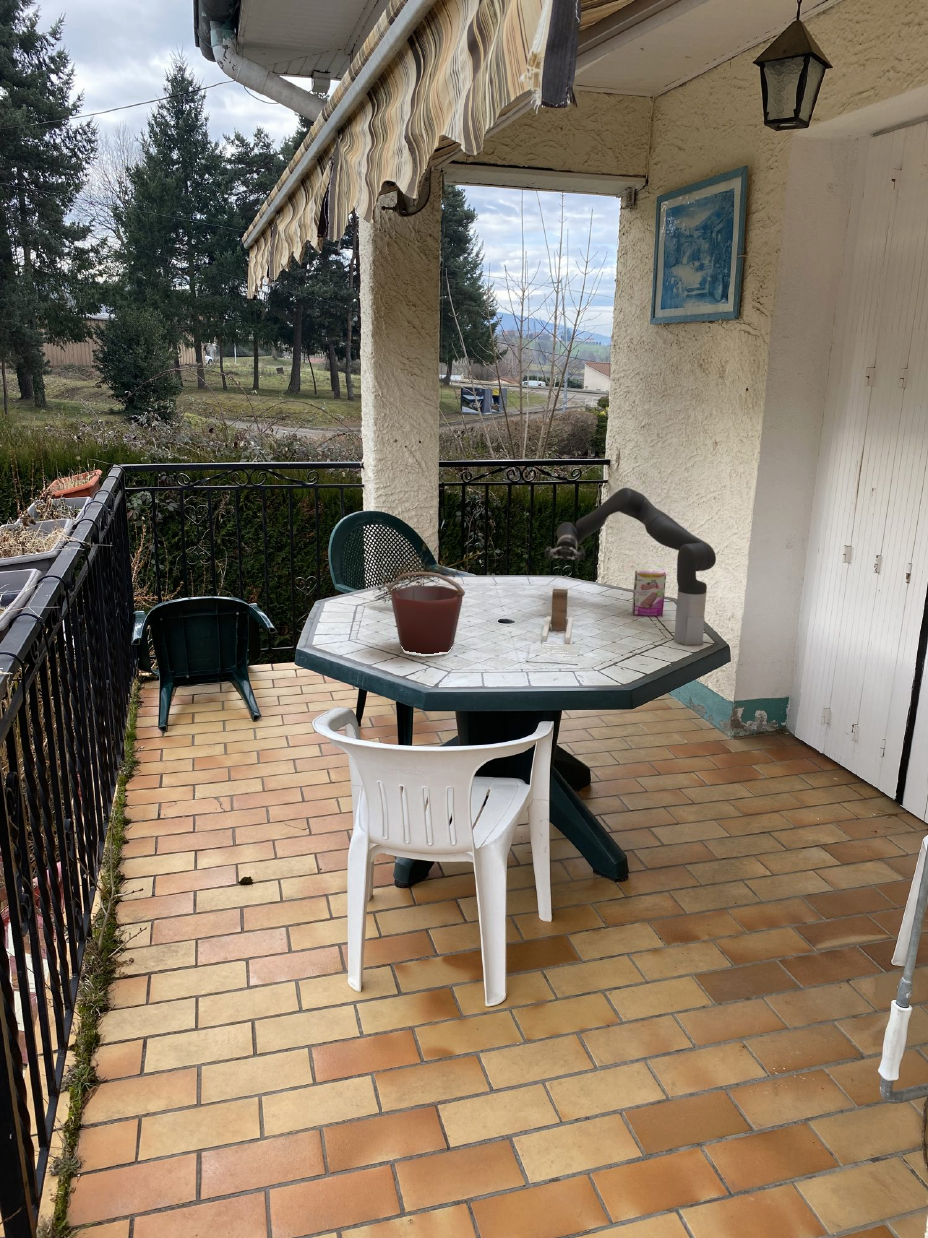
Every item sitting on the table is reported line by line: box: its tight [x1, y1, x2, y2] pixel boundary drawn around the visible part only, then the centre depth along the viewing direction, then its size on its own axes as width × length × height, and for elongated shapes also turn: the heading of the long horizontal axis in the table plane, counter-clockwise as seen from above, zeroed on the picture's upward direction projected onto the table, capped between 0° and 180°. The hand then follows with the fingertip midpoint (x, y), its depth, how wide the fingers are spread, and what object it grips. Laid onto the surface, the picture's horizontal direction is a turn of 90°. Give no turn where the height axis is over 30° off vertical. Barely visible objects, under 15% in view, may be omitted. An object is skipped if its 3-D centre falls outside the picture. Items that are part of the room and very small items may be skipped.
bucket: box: [386, 571, 466, 654], centre depth 285 cm, size 24×22×25 cm
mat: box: [543, 642, 581, 662], centre depth 285 cm, size 20×16×1 cm
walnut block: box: [550, 588, 569, 632], centre depth 311 cm, size 5×5×14 cm
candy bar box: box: [631, 569, 667, 617], centre depth 332 cm, size 11×5×16 cm, turn 84°
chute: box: [541, 616, 574, 645], centre depth 308 cm, size 26×9×2 cm, turn 171°
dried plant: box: [372, 540, 487, 604], centre depth 333 cm, size 30×31×45 cm
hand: (563, 558), depth 318 cm, fingers open, 8 cm apart
